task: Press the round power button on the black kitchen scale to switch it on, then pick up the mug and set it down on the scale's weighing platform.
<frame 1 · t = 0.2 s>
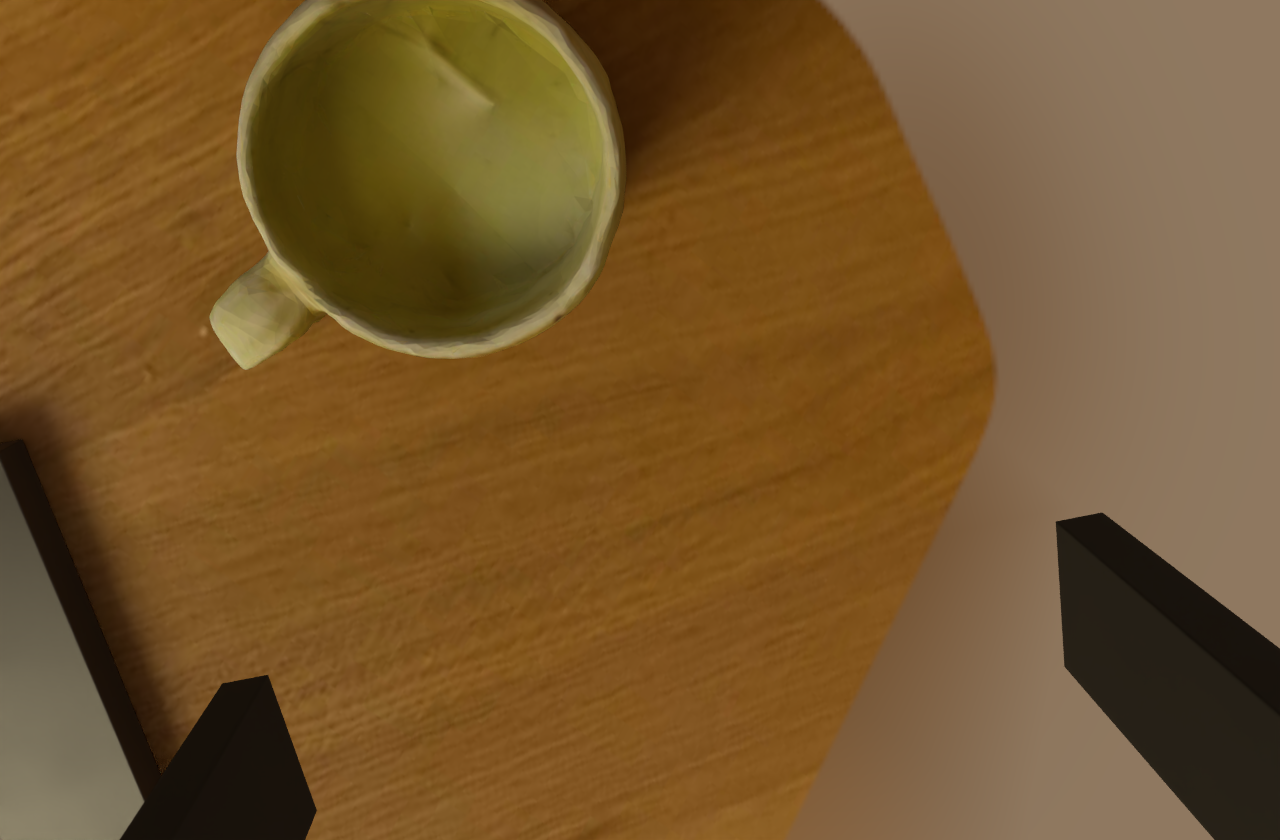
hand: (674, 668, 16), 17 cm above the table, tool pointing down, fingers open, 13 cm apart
mug: (436, 182, 30), on the table
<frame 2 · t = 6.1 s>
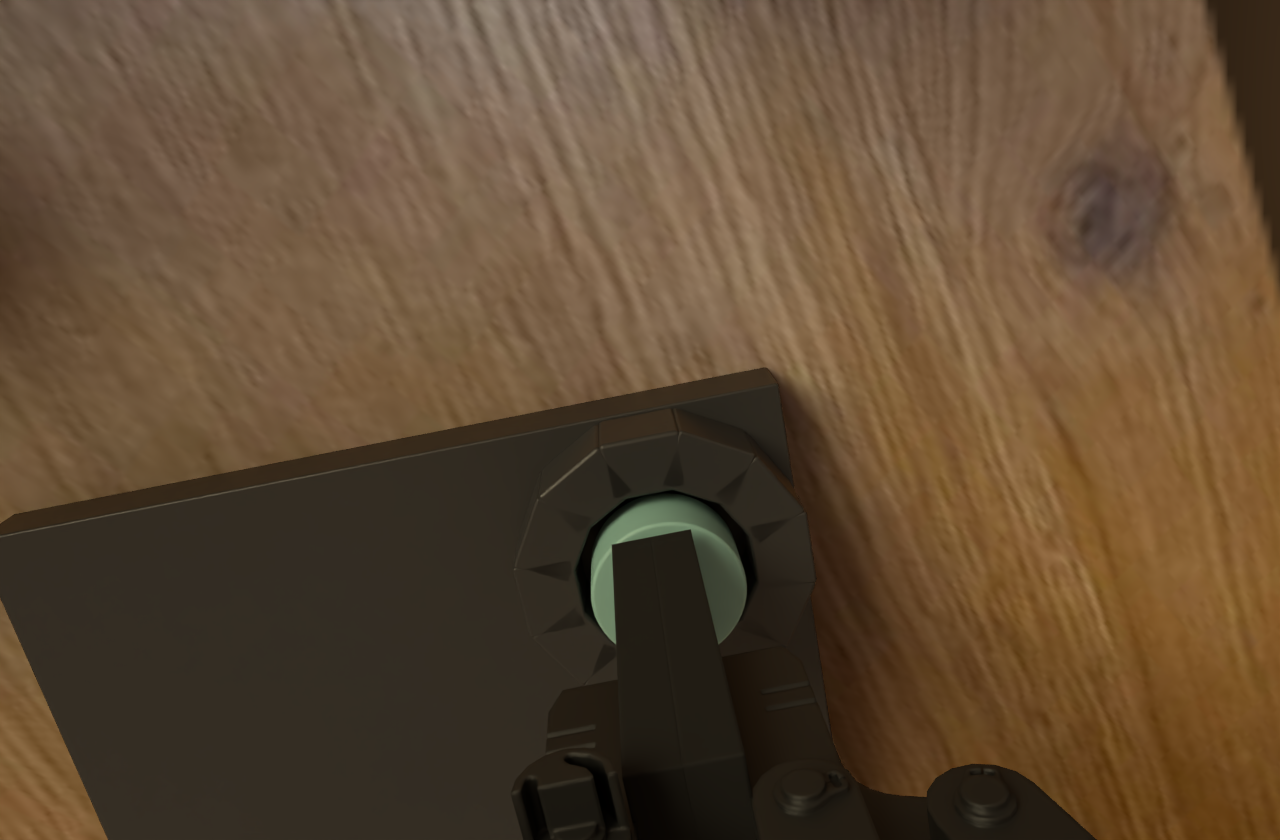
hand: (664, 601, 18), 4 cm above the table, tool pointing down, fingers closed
power button: (666, 576, 19), point 3 cm above the table, slide at -0.3 cm, touching gripper
scale: (469, 725, 23), on the table
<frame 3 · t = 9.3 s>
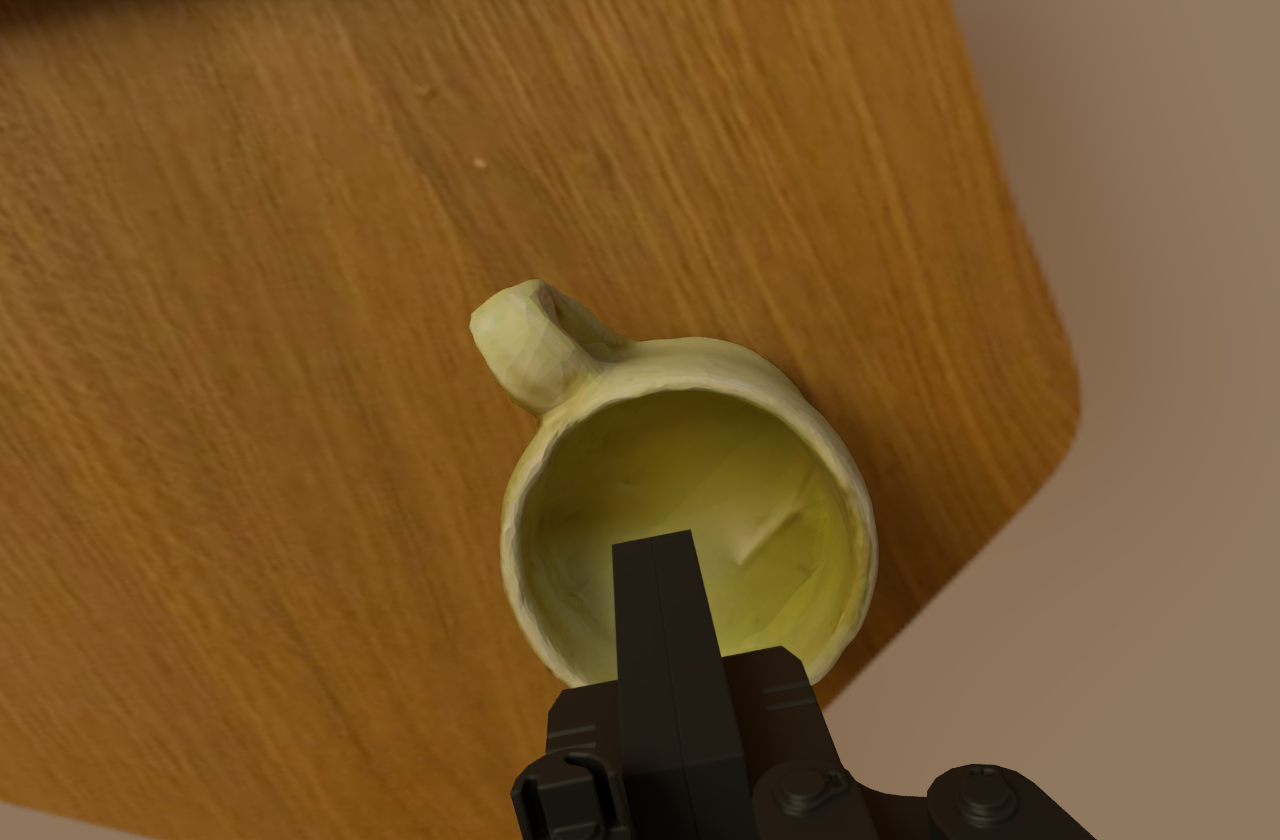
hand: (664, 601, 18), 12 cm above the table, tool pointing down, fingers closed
mug: (644, 416, 30), on the table
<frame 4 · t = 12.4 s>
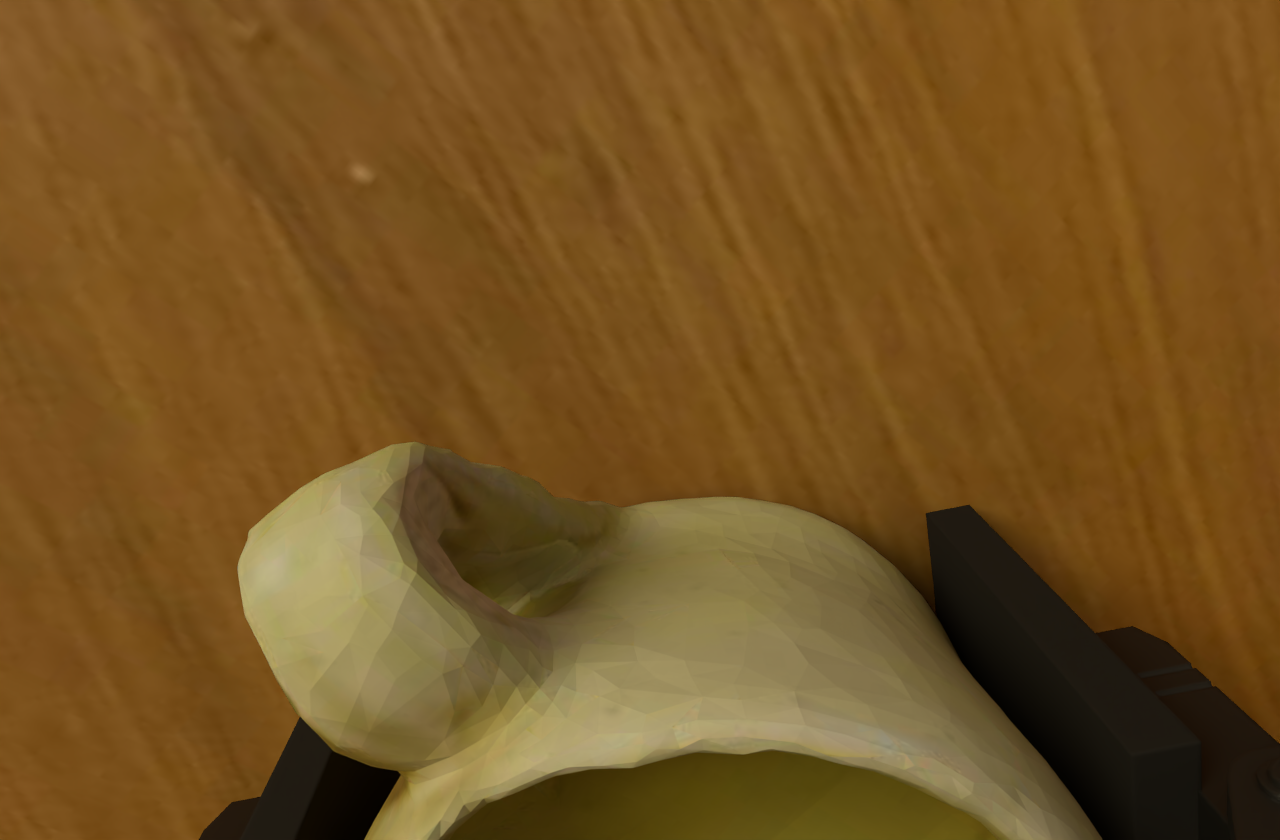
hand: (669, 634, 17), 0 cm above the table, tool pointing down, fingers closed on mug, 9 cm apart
mug: (642, 623, 17), on the table, touching gripper
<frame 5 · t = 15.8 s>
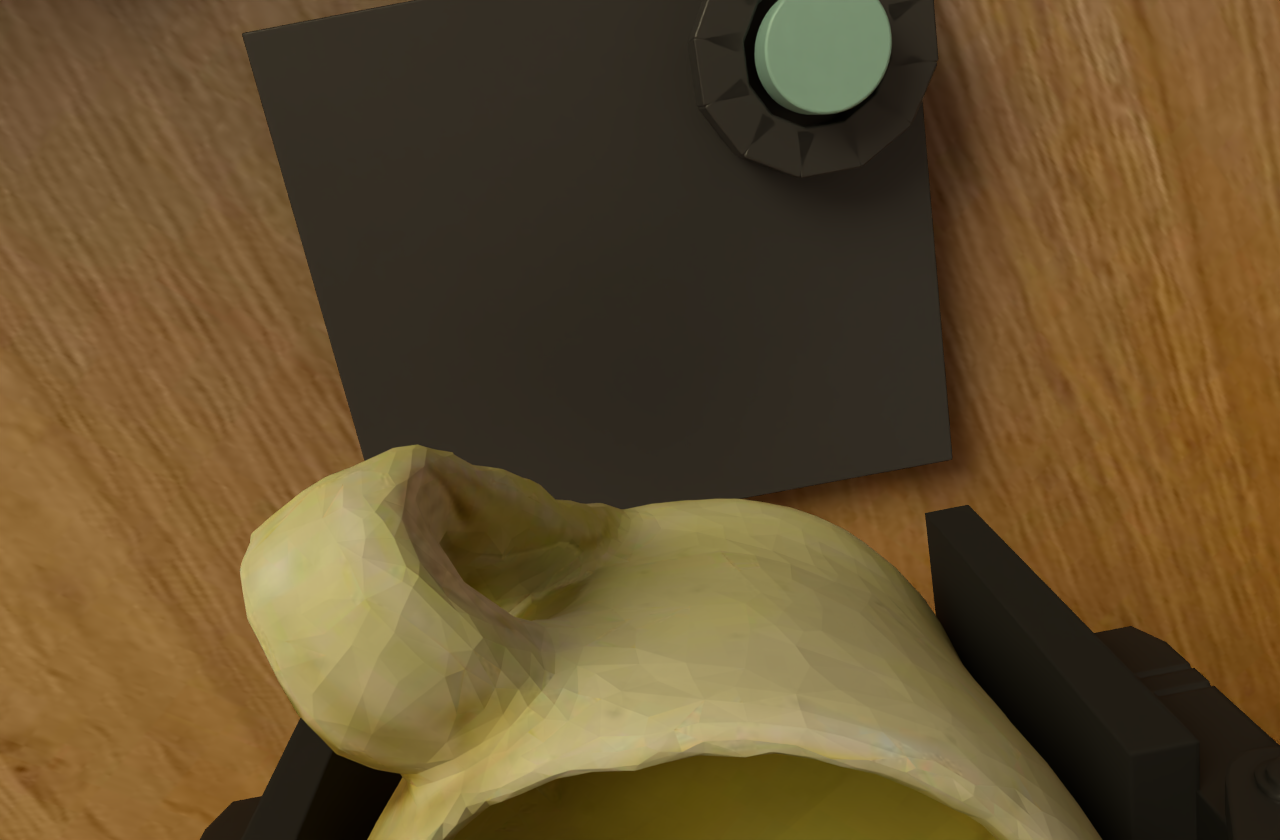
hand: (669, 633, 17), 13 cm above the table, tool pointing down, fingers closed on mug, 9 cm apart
power button: (821, 48, 23), point 3 cm above the table, slide at 0.1 cm
mug: (643, 625, 17), point 12 cm above the table, touching gripper
scale: (625, 257, 27), on the table
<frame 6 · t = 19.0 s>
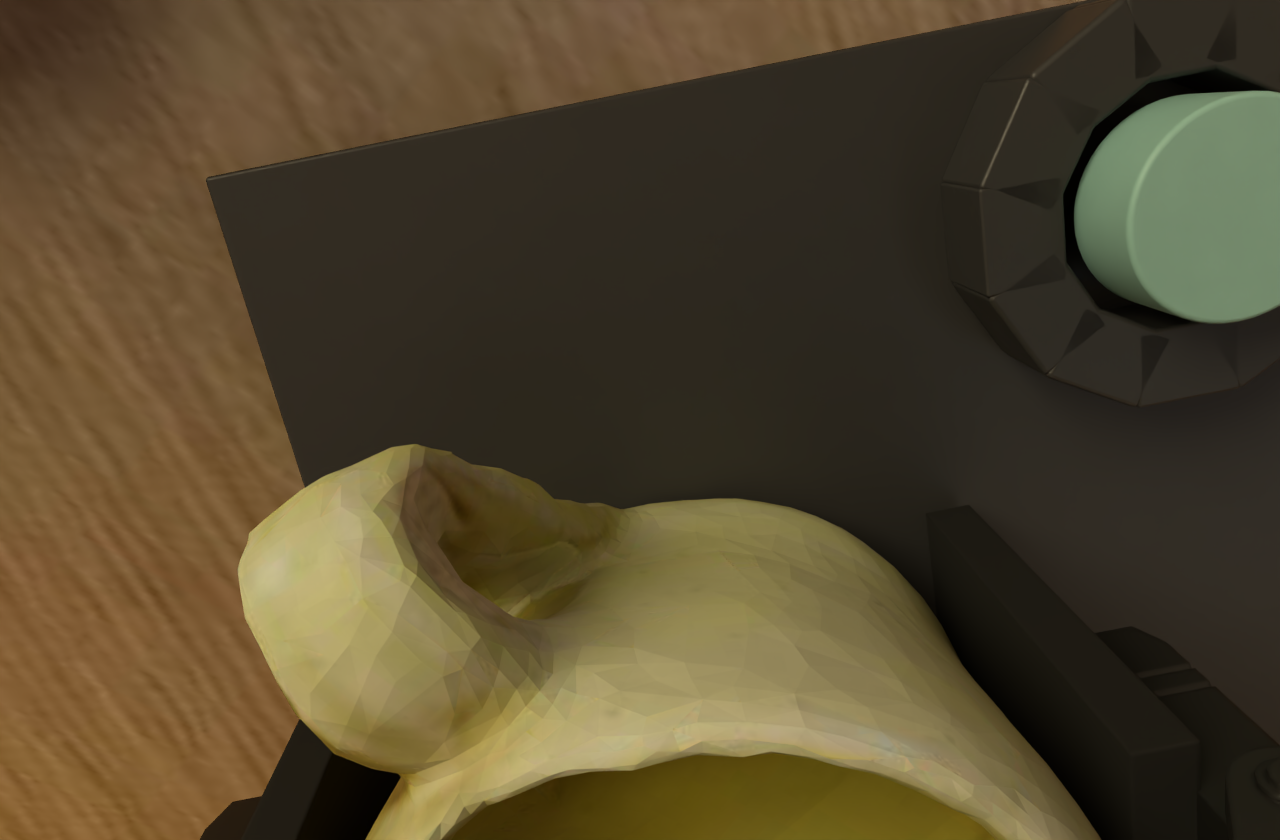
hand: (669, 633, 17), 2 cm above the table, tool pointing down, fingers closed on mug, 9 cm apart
power button: (1205, 207, 13), point 3 cm above the table, slide at 0.1 cm
mug: (642, 625, 17), point 1 cm above the table, touching gripper, scale
scale: (805, 489, 18), on the table
when the fingers open (2 cm above the table, at t = 19.4 s): mug stays where it is, resting on scale.
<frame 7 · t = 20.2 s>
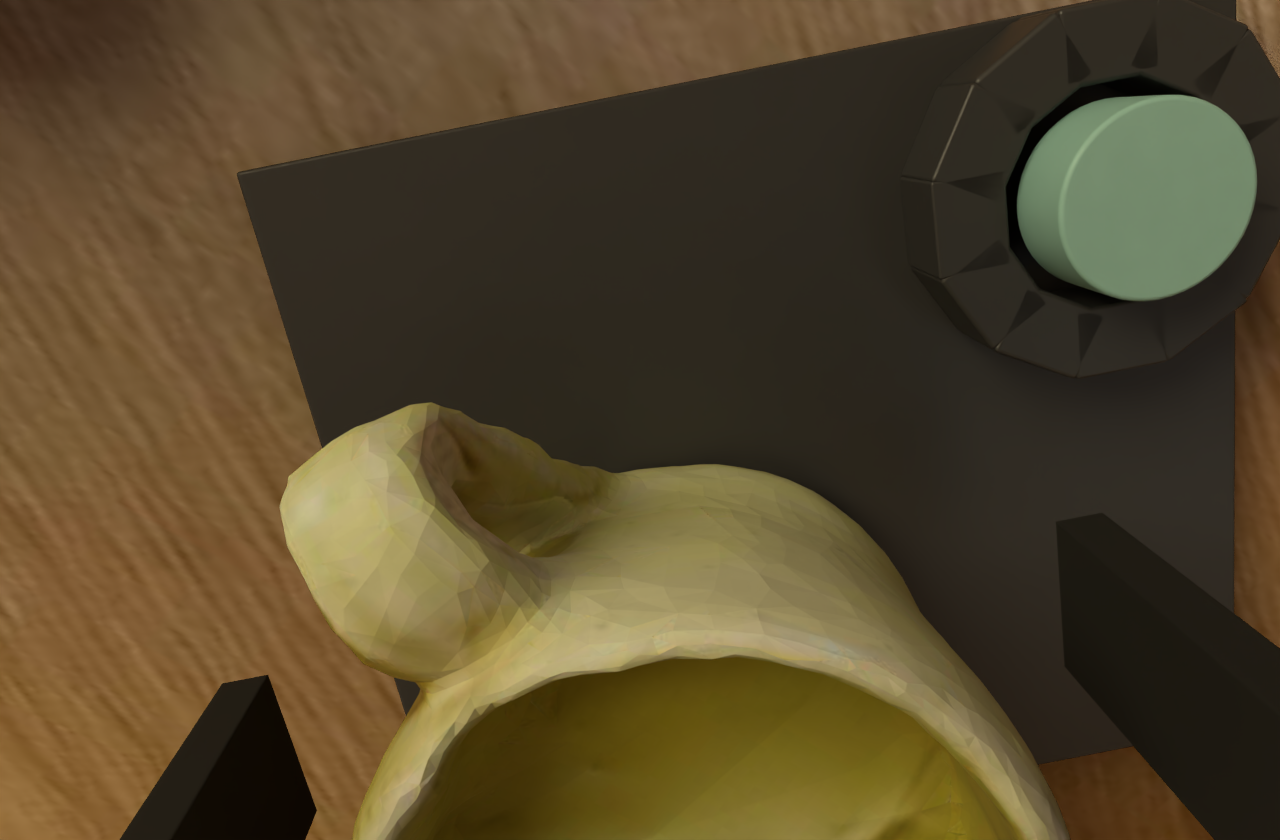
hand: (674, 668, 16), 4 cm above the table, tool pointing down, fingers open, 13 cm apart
power button: (1131, 197, 15), point 3 cm above the table, slide at 0.1 cm
mug: (632, 582, 19), point 1 cm above the table, touching scale
scale: (781, 459, 19), on the table
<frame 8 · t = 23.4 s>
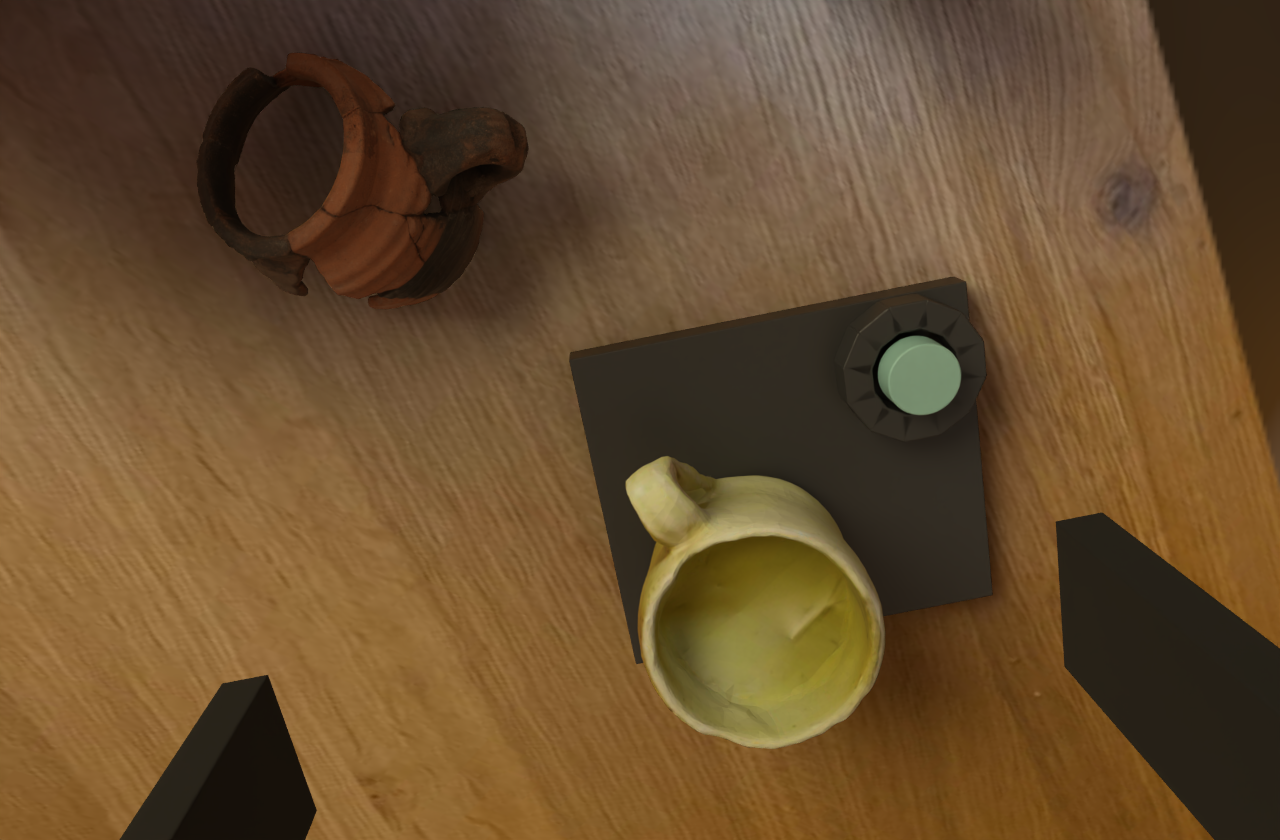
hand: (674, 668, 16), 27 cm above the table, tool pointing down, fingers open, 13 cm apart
power button: (918, 375, 39), point 3 cm above the table, slide at 0.1 cm
mug: (720, 526, 43), point 1 cm above the table, touching scale
scale: (785, 472, 43), on the table
pottery mug: (395, 179, 39), on the table
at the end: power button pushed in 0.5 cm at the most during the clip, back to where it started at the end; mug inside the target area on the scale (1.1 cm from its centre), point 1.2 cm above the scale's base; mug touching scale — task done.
